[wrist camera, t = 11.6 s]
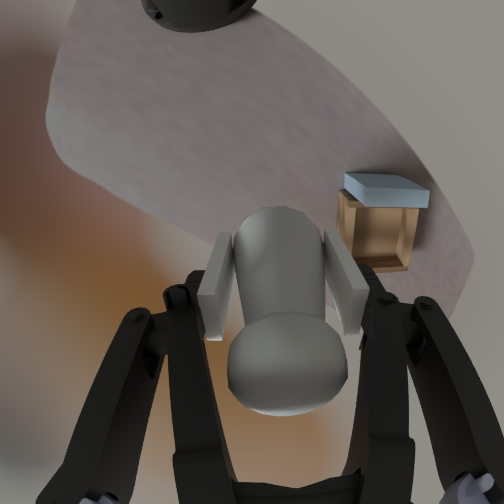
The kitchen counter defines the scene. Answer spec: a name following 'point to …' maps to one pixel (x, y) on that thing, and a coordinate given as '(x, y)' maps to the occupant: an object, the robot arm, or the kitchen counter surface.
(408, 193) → the pale blue lid slab
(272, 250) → the salt shaker
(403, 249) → the open wooden crate
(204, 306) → the robot arm
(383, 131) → the kitchen counter surface
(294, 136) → the kitchen counter surface
